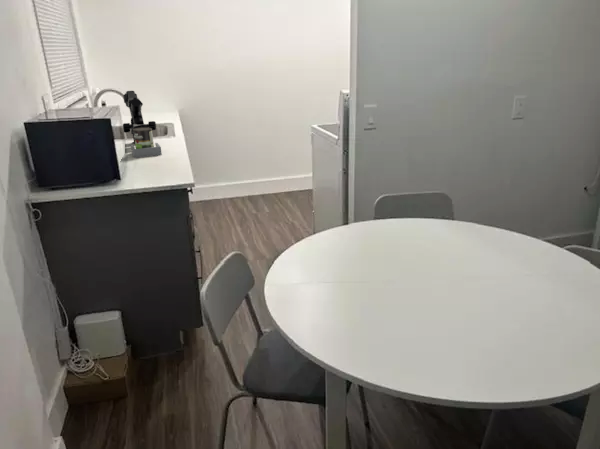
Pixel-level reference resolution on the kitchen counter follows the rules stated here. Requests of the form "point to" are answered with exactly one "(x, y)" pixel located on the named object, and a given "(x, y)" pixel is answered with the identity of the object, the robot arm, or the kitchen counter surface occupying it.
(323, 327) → the kitchen counter surface
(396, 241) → the kitchen counter surface
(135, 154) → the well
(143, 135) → the coffee can
